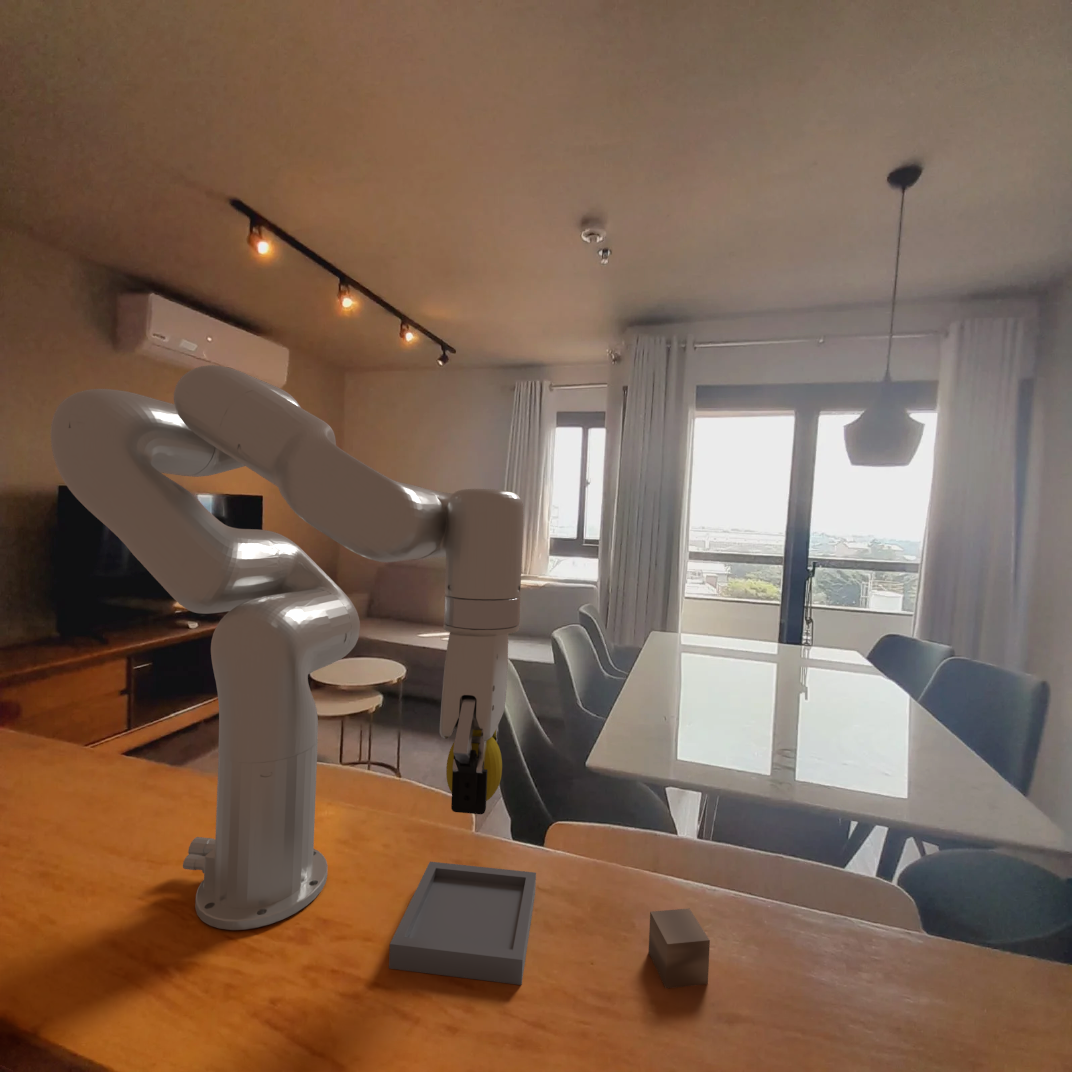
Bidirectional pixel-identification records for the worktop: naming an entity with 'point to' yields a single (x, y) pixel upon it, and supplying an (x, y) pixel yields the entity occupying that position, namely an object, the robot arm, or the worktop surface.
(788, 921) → the worktop surface
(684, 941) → the metal cube
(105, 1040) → the worktop surface
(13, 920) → the worktop surface
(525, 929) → the dish
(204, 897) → the robot arm
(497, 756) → the lemon
